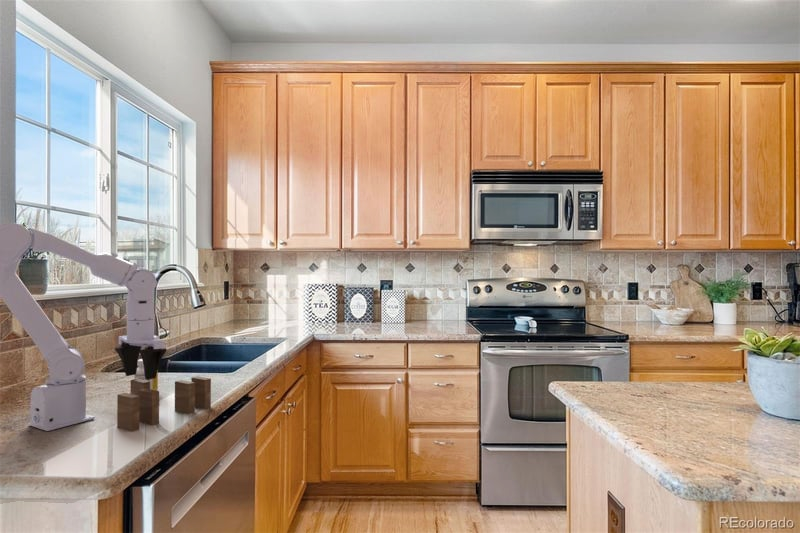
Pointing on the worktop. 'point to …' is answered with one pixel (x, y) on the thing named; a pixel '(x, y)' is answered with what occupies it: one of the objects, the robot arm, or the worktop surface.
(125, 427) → the domino
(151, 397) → the domino
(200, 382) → the domino
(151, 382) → the supplement bottle
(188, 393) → the domino
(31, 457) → the worktop surface
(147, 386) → the domino
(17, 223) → the robot arm
